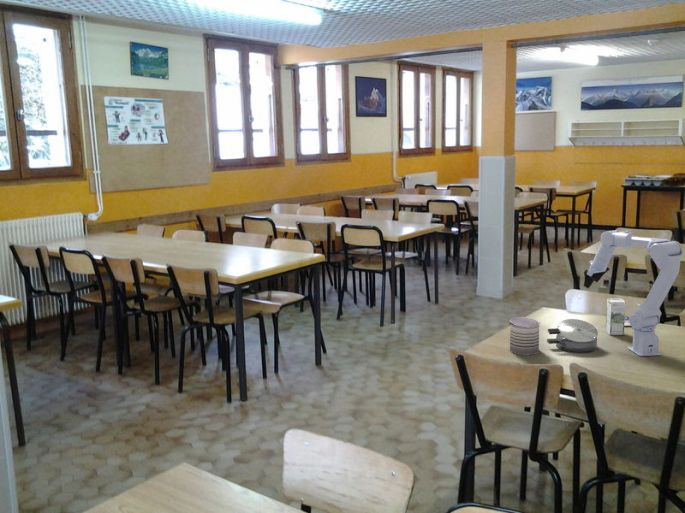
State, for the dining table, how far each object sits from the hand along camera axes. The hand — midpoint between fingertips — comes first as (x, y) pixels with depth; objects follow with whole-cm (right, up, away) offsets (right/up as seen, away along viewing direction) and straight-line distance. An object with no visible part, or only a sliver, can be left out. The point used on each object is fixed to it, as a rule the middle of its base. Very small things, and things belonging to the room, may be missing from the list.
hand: (590, 283), depth 268 cm
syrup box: (+11, -21, +2) cm, 24 cm away
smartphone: (+22, -18, +17) cm, 33 cm away
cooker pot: (-13, -24, -13) cm, 30 cm away
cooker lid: (-13, -18, -15) cm, 27 cm away
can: (-32, -25, -15) cm, 43 cm away
